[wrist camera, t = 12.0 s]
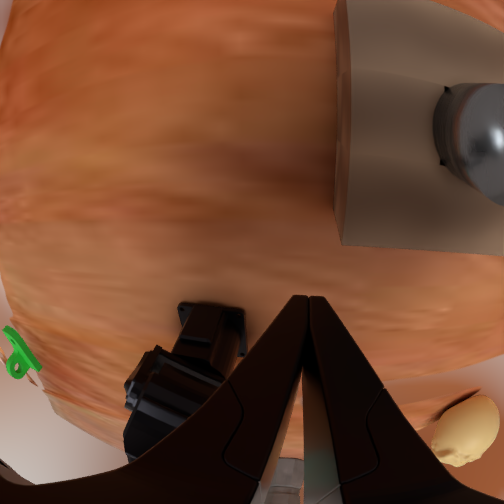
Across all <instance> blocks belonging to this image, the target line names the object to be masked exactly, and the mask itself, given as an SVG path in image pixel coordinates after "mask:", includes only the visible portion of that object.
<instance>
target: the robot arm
mask: <svg viewBox="0 0 504 504" xmlns="http://www.w3.org/2000/svg"><path fill="white" fill-rule="evenodd" d="M183 308H184V309H183ZM177 309H178V313H179V317H180V321H181V324H182V330H181V332H180V334H179V337H178V339H177V341H176V343H175V345H174V347H173V349H172V351H171V353H170V352H168V351H166V350H164V349H162V347H160V346H158V345H156V346H155V348H154V350H153V351H150V352H145V353H144V355H143V357H142V359H141V361H140V362H139V364H138V366H137V367H136V368H135V370H134V371H133V372H132V374H131V375H130V376H129V378H128V379H127V380H126V382H125V384H124V388H125V391H126V393H127V395H126V399H127V401H126V403H125V407H124V408H126V409H128V410H130V411H132V414H131V416H130V418H129V420H128V423H127V425H126V427H125V429H124V432H123V438H124V448H125V453H126V455H127V457H128V462H129V464H127V465H125V466H123V467H120V468H117V469H115V470H111V471H108V472H104V473H100V474H96V475H92V476H87V477H82V478H77V479H72V480H66V481H60V482H54V483H46V484H38V485H35V484H33V483H31V482H30V481H28V480H26V479H24V478H23V477H21V476H20V475H18V474H17V473H16V472H15V471H14V470H13V469H12V468H11V467H10V466H9V465H7V464H6V463H5V462H4V461H2V460H1V459H0V504H264V502H265V499H266V496H267V493H268V490H269V487H270V484H271V481H272V478H273V475H274V472H275V469H276V466H277V463H278V459H279V456H280V453H281V449H282V446H283V443H284V439H285V436H286V432H287V429H288V425H289V421H290V418H291V414H292V410H293V406H294V403H295V399H296V395H297V391H298V386H299V382H300V378H301V372H302V392H303V424H304V504H504V500H501V499H498V498H495V497H493V496H490V495H487V494H484V493H482V492H479V491H476V490H474V489H472V488H470V487H467V486H465V485H464V484H462V483H461V482H459V481H458V480H457V479H456V478H454V477H453V476H452V475H451V474H450V473H449V471H448V470H447V469H446V468H445V467H444V466H443V464H442V463H441V462H440V461H439V459H438V458H437V457H436V456H435V454H434V453H433V452H432V451H431V449H430V448H429V447H428V446H427V444H426V443H425V442H424V441H423V440H422V438H421V437H420V436H419V435H418V433H417V432H416V431H415V429H414V428H413V427H412V426H411V424H410V423H409V422H408V420H407V419H406V418H405V416H404V415H403V413H402V412H401V410H400V409H399V408H398V406H397V405H396V403H395V402H394V400H393V399H392V397H391V395H390V394H389V392H388V391H387V389H385V388H384V385H383V383H382V382H381V380H380V378H379V377H378V375H377V374H376V372H375V371H374V369H373V368H372V366H371V365H370V363H369V362H368V360H367V359H366V357H365V356H364V354H363V353H362V351H361V350H360V348H359V347H358V345H357V344H356V342H355V341H354V339H353V338H352V336H351V335H350V333H349V332H348V330H347V329H346V327H345V326H344V324H343V323H342V321H341V320H340V319H339V317H338V316H337V314H336V313H335V311H334V310H333V308H332V307H331V306H330V304H329V303H328V301H327V300H326V298H325V297H323V296H310V297H309V299H308V296H306V295H293V296H292V297H291V298H290V299H289V301H288V302H287V303H286V305H285V306H284V307H283V309H282V310H281V311H280V313H279V314H278V315H277V317H276V318H275V319H274V320H273V322H272V323H271V324H270V326H269V327H268V328H267V329H266V331H265V332H264V333H263V335H262V336H261V337H260V338H259V340H258V341H257V342H256V343H255V345H254V346H253V347H252V348H251V350H250V351H249V352H248V348H247V335H246V321H245V312H244V311H243V310H241V309H234V308H224V307H214V306H205V305H196V304H188V303H180V304H179V305H178V307H177ZM238 314H240V315H238ZM237 357H244V358H243V359H242V361H241V362H240V363H239V364H238V365H237V367H236V368H235V369H234V365H235V362H236V358H237ZM233 369H234V370H233ZM383 388H384V389H383Z"/></svg>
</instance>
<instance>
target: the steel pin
mask: <svg viewBox="0 0 504 504" xmlns="http://www.w3.org/2000/svg"><path fill="white" fill-rule="evenodd" d="M432 130H433V138H434V143H435V147H436V150H437V152H438V155H439V157H440V159H441V161H442V162H443V164H444V165H445V167H446V168H447V169H448V170H449V171H450V172H451V173H452V174H453V175H454V176H456V177H457V178H459V179H460V180H462V181H463V182H465V183H467V184H468V185H470V186H471V187H473V188H474V189H476V190H477V191H478V192H480V193H481V194H483V195H484V196H486V197H487V198H488V199H490V200H491V201H493V202H494V203H496V204H498V205H501V206H504V84H498V83H459V84H456V85H453V86H451V87H450V88H448V89H447V90H446V91H445V92H444V93H443V94H442V95H441V97H440V98H439V100H438V102H437V104H436V107H435V110H434V115H433V128H432Z"/></svg>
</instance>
